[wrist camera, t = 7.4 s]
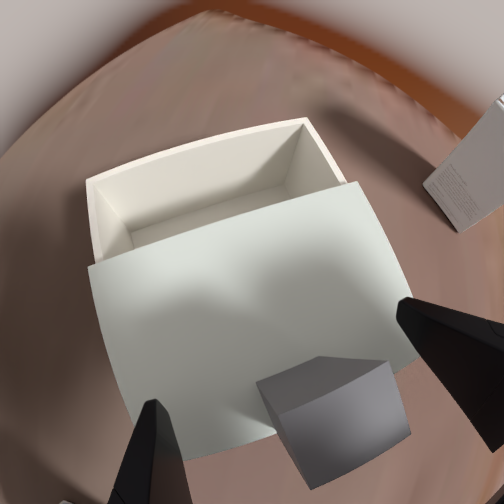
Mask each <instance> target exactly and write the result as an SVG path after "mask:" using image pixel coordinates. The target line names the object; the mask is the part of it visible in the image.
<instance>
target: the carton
mask: <svg viewBox="0 0 504 504" xmlns="http://www.w3.org/2000/svg"><path fill="white" fill-rule="evenodd" d="M344 184H348V183H347V181H346V180H345V178H344V176H343V174H342V173H341V171H340V169H339V168H338V166H337V164H336V162H335V161H334V159H333V158H332V156H331V154H330V153H329V151H328V149H327V148H326V146H325V145H324V143H323V141H322V140H321V138H320V137H319V135H318V134H317V132H316V131H315V129H314V127H313V126H312V124H311V123H310V121H309V120H308V118H307V117H305V118H299V119H293V120H287V121H281V122H276V123H270V124H265V125H260V126H255V127H251V128H246V129H242V130H237V131H233V132H229V133H225V134H221V135H217V136H213V137H209V138H205V139H202V140H198V141H194V142H191V143H187V144H184V145H181V146H177V147H174V148H171V149H168V150H164V151H161V152H158V153H155V154H152V155H149V156H146V157H143V158H140V159H138V160H135V161H132V162H129V163H127V164H124V165H121V166H119V167H116V168H113V169H111V170H108V171H106V172H103V173H101V174H98V175H96V176H93V177H91V178H89V179H86V191H87V203H88V213H89V222H90V231H91V238H92V245H93V251H94V258H95V263H99V262H102V261H104V260H107V259H110V258H112V257H115V256H118V255H121V254H123V253H126V252H129V251H132V250H135V249H137V248H140V247H143V246H146V245H149V244H152V243H155V242H158V241H160V240H163V239H166V238H169V237H172V236H175V235H178V234H181V233H184V232H187V231H190V230H193V229H196V228H199V227H202V226H205V225H209V224H212V223H215V222H218V221H221V220H224V219H227V218H231V217H234V216H237V215H240V214H243V213H247V212H250V211H253V210H257V209H260V208H263V207H266V206H270V205H273V204H277V203H280V202H283V201H287V200H290V199H294V198H297V197H301V196H304V195H308V194H311V193H315V192H319V191H322V190H326V189H330V188H333V187H337V186H341V185H344Z"/></svg>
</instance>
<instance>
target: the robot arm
mask: <svg viewBox="0 0 504 504" xmlns="http://www.w3.org/2000/svg"><path fill="white" fill-rule="evenodd" d="M396 321H397V323H398V324H399V326H400V327H401V329H402V330H403V332H404V333H405V335H406V336H407V338H408V339H409V341H410V342H411V344H412V345H413V347H414V348H415V350H416V351H417V352H418V354H419V355H420V356H421V357H422V359H423V360H424V361H425V362H426V364H427V365H428V366H429V367H430V369H431V370H432V371H433V372H434V374H435V375H436V376H437V378H438V379H439V380H440V381H441V383H442V384H443V385H444V387H445V388H446V389H447V390H448V392H449V393H450V394H451V396H452V397H453V398H454V400H455V401H456V402H457V404H458V405H459V406H460V408H461V409H462V410H463V412H464V413H465V415H466V416H467V417H468V419H469V420H470V422H471V423H472V425H473V426H474V427H475V429H476V430H477V432H478V433H479V435H480V436H481V437H482V439H483V440H484V442H485V443H486V445H487V446H488V448H489V449H490V451H491V452H492V453H494V452H495V451H496V450H497V449H499V448H500V447H501V446H502V445H503V444H504V324H502V323H498V322H495V321H491V320H486V319H484V318H481V317H477V316H474V315H470V314H467V313H463V312H460V311H456V310H453V309H450V308H446V307H443V306H439V305H436V304H432V303H429V302H425V301H422V300H418V299H415V298H412V297H405V298H403V299H401V300H399V302H398V305H397V311H396ZM107 504H193V503H192V499H191V495H190V491H189V487H188V483H187V478H186V474H185V469H184V465H183V460H182V455H181V452H180V448H179V445H178V442H177V439H176V436H175V432H174V429H173V426H172V422H171V419H170V416H169V413H168V411H167V410H166V409H165V407H164V406H163V405H162V404H161V403H160V401H159V400H158V399H151V400H147V401H145V402H144V405H143V407H142V410H141V412H140V415H139V417H138V420H137V423H136V425H135V428H134V431H133V433H132V436H131V439H130V441H129V444H128V447H127V450H126V452H125V455H124V458H123V461H122V463H121V466H120V469H119V472H118V475H117V478H116V481H115V483H114V488H113V489H112V492H111V495H110V498H109V501H108V503H107ZM486 504H504V485H503V486H502V487H501V488H500V489H499V490H498V491H497V492H496V493H495V494H494V496H493V497H492V498H491V499H490V500H489V501H488V502H487V503H486Z"/></svg>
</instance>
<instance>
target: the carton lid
mask: <svg viewBox="0 0 504 504" xmlns="http://www.w3.org/2000/svg"><path fill="white" fill-rule="evenodd" d="M88 273H89V278H90V284H91V289H92V294H93V299H94V303H95V308H96V312H97V316H98V320H99V324H100V328H101V332H102V336H103V339H104V343H105V346H106V350H107V353H108V357H109V360H110V363H111V366H112V369H113V372H114V375H115V378H116V381H117V384H118V387H119V389H120V392H121V395H122V398H123V400H124V403H125V405H126V408H127V410H128V413H129V415H130V418H131V420H132V422H133V425H134V427H135V425H136V423H137V420H138V417H139V415H140V412H141V410H142V407H143V405H144V402H145V401H147V400H151V399H158V400H159V401H160V403H161V404H162V405H163V406H164V407H165V409H166V410H167V411H168V413H169V416H170V419H171V422H172V426H173V429H174V432H175V436H176V439H177V442H178V445H179V448H180V452H181V455H182V460H183V461H186V460H191V459H195V458H199V457H203V456H207V455H211V454H215V453H218V452H222V451H225V450H229V449H232V448H235V447H239V446H242V445H245V444H248V443H251V442H254V441H257V440H260V439H262V438H265V437H268V436H271V435H273V434H276V433H277V434H278V436H279V437H280V439H281V441H282V443H283V444H284V446H285V448H286V450H287V451H288V453H289V455H290V457H291V458H292V460H293V462H294V464H295V465H296V467H297V469H298V470H299V472H300V474H301V475H302V477H303V479H304V480H305V482H306V484H307V485H308V487H309V488H310V490H312V489H315V488H317V487H319V486H321V485H324V484H326V483H328V482H330V481H332V480H334V479H337V478H339V477H341V476H343V475H345V474H347V473H348V472H350V471H352V470H354V469H356V468H358V467H360V466H362V465H363V464H365V463H367V462H369V461H370V460H372V459H374V458H375V457H377V456H379V455H380V454H382V453H384V452H385V451H387V450H388V449H390V448H392V447H393V446H395V445H396V444H398V443H399V442H401V441H402V440H404V439H405V438H406V437H408V436H409V435H411V431H410V428H409V424H408V420H407V417H406V413H405V410H404V407H403V403H402V400H401V397H400V393H399V390H398V387H397V384H396V381H395V378H394V375H393V374H395V373H397V372H398V371H400V370H401V369H403V368H404V367H406V366H407V365H409V364H410V363H412V362H413V361H415V360H416V359H417V358H419V357H420V355H419V354H418V352H417V351H416V350H415V348H414V347H413V345H412V344H411V342H410V341H409V339H408V338H407V336H406V335H405V333H404V332H403V330H402V329H401V327H400V326H399V324H398V323H397V321H396V311H397V305H398V302H399V300H401V299H403V298H405V297H412V298H413V296H412V293H411V291H410V288H409V286H408V284H407V281H406V279H405V276H404V274H403V272H402V269H401V267H400V265H399V263H398V260H397V258H396V256H395V254H394V252H393V249H392V247H391V245H390V243H389V241H388V239H387V237H386V235H385V233H384V231H383V229H382V227H381V225H380V223H379V221H378V219H377V217H376V215H375V213H374V211H373V209H372V207H371V205H370V204H369V202H368V200H367V198H366V196H365V194H364V193H363V191H362V189H361V187H360V186H359V184H358V182H357V181H356V182H352V183H348V184H344V185H341V186H337V187H333V188H330V189H326V190H322V191H319V192H315V193H311V194H308V195H304V196H301V197H297V198H294V199H290V200H287V201H283V202H280V203H277V204H273V205H270V206H266V207H263V208H260V209H257V210H253V211H250V212H247V213H243V214H240V215H237V216H234V217H231V218H227V219H224V220H221V221H218V222H215V223H212V224H209V225H205V226H202V227H199V228H196V229H193V230H190V231H187V232H184V233H181V234H178V235H175V236H172V237H169V238H166V239H163V240H160V241H158V242H155V243H152V244H149V245H146V246H143V247H140V248H137V249H135V250H132V251H129V252H126V253H123V254H121V255H118V256H115V257H112V258H110V259H107V260H104V261H102V262H99V263H96V264H94V265H91V266H88Z"/></svg>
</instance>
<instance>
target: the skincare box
mask: <svg viewBox="0 0 504 504" xmlns="http://www.w3.org/2000/svg"><path fill="white" fill-rule="evenodd" d="M423 186H424V188H425V189H426V190H427V191H428V193H429V194H430V195H431V196H432V197H433V199H434V200H435V201H436V203H437V204H438V205H439V206H440V208H441V209H442V210H443V212H444V213H445V214H446V216H447V217H448V219H449V220H450V221H451V223H452V224H453V225H454V227H455V228H456V230H457V231H458V233H462V232H463V231H465V230H466V229H468V228H469V227H471V226H472V225H474V224H475V223H477V222H478V221H480V220H481V219H483V218H484V217H486V216H487V215H489V214H490V213H492V212H493V211H495V210H496V209H497V208H499V207H500V206H502V205H503V204H504V93H503V94H502V95H501V96H500V97H499V98H498V99H496V100H495V101H494V102H493V104H492V105H491V106H490V108H489V109H488V110H487V111H486V113H485V114H484V115H483V116H482V118H481V119H480V120H479V121H478V122H477V124H476V125H475V126H474V127H473V128H472V130H471V131H470V132H469V133H468V134H467V136H465V138H464V139H463V140H462V141H461V142H460V143H459V144H458V146H457V147H456V148H455V149H454V150H453V151H452V152H451V153H450V154H449V156H448V157H447V158H446V159H445V160H444V161H443V162H442V163H441V164H440V165H439V166H438V167H437V169H436V170H435V171H434V172H433V173H432V174H431V175H430V176H429V177H428V178H427V179H426V180H425V181H424V182H423Z"/></svg>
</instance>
